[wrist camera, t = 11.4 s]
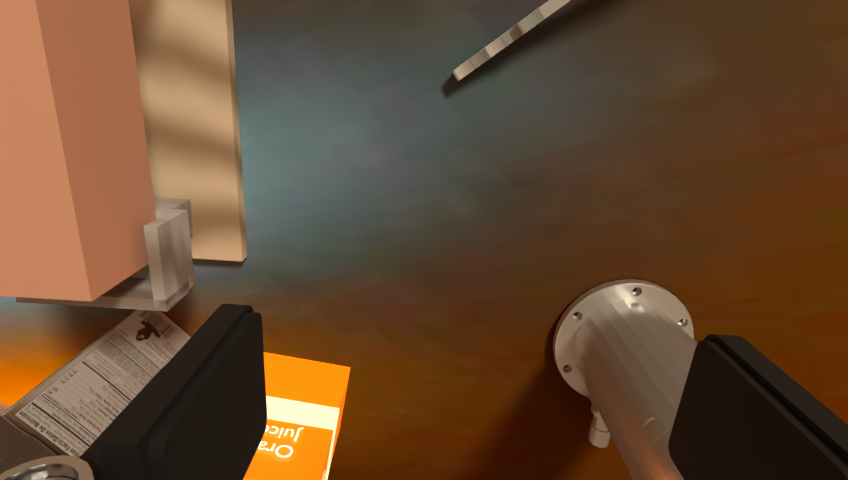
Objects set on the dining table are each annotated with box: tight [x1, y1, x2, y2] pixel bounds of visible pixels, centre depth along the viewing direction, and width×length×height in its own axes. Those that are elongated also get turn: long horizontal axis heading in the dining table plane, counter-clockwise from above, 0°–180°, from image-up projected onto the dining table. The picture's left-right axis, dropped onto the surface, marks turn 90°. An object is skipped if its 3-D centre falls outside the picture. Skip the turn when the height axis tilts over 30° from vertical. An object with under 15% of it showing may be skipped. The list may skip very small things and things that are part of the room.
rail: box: [0, 0, 156, 301], centre depth 25 cm, size 25×6×7 cm, turn 176°
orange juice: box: [243, 352, 350, 480], centre depth 37 cm, size 8×9×20 cm
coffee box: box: [0, 309, 191, 474], centre depth 37 cm, size 9×6×16 cm
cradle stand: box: [16, 0, 247, 311], centre depth 31 cm, size 32×11×12 cm, turn 176°
